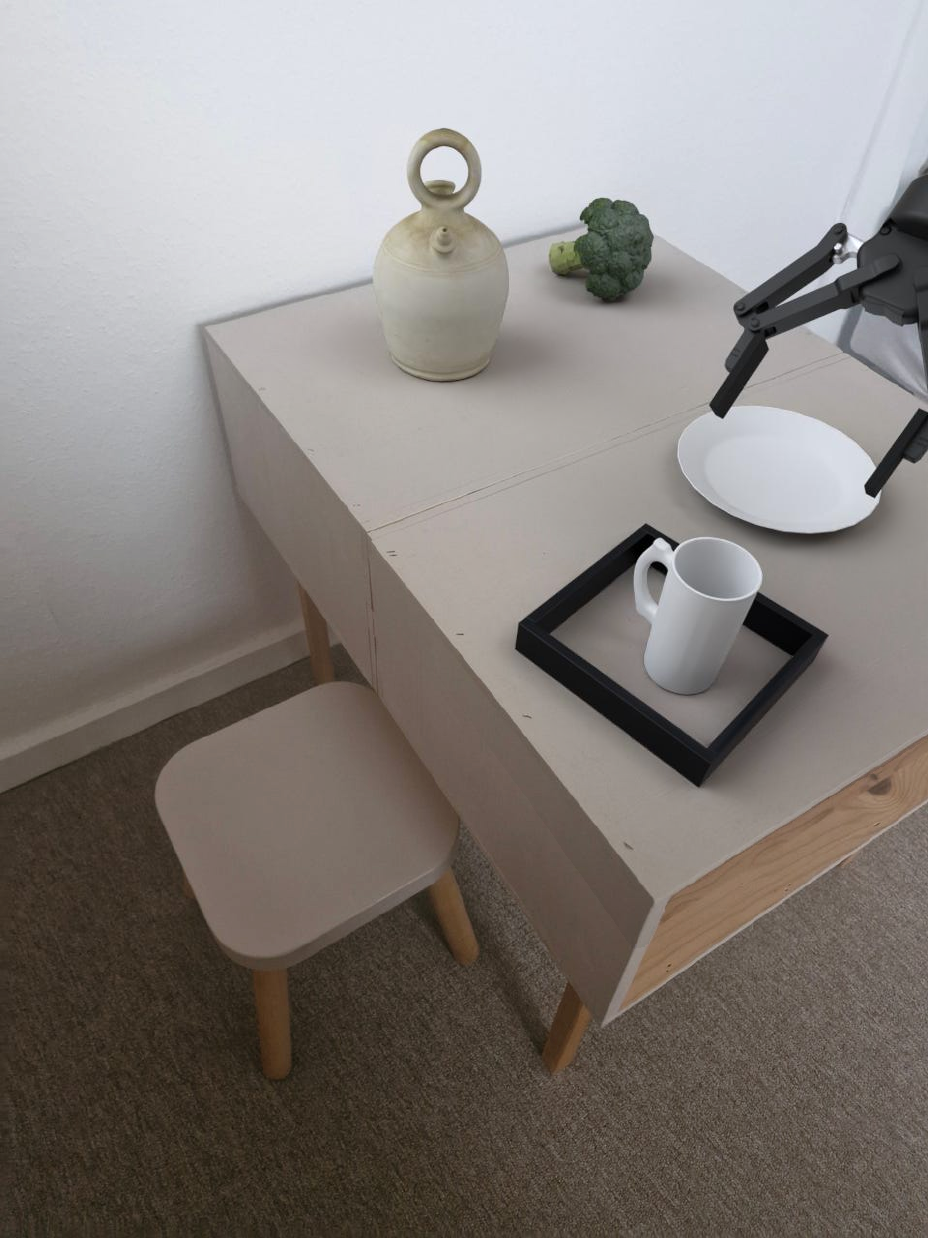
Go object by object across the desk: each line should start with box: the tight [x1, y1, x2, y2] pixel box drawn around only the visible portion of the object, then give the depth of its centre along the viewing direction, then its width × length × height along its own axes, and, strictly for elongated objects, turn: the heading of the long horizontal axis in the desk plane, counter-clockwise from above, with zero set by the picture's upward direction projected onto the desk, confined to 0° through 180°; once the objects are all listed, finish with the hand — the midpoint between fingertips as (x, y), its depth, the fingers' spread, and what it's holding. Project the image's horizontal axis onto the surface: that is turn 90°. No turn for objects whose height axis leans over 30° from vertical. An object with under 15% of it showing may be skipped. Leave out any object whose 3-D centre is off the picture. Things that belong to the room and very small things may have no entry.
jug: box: [372, 127, 510, 382], centre depth 94 cm, size 15×16×25 cm
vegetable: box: [548, 197, 655, 302], centre depth 113 cm, size 12×13×15 cm
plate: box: [676, 405, 883, 535], centre depth 89 cm, size 21×21×2 cm
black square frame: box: [514, 522, 829, 788], centre depth 72 cm, size 19×18×4 cm
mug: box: [633, 536, 764, 696], centre depth 69 cm, size 10×7×12 cm, turn 41°
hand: (788, 450), depth 66 cm, fingers open, 13 cm apart
